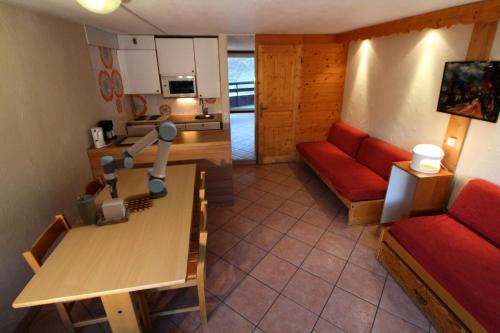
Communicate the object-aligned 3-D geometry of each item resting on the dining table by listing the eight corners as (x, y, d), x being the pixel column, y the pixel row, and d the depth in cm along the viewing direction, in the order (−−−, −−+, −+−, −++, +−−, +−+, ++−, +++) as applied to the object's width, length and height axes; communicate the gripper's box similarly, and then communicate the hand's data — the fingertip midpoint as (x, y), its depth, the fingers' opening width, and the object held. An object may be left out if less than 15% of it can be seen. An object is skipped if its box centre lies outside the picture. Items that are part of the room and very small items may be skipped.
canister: (91, 226, 168) (84, 200, 160) (78, 224, 170) (70, 198, 162) (103, 217, 178) (96, 192, 170) (90, 215, 180) (83, 190, 172)
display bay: (130, 211, 185) (129, 207, 184) (128, 221, 173) (127, 217, 171) (102, 215, 180) (101, 211, 179) (98, 226, 167) (97, 222, 166)
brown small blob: (105, 207, 190) (104, 200, 188) (104, 211, 185) (102, 204, 183) (96, 208, 189) (95, 201, 186) (95, 212, 183) (93, 205, 181)
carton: (125, 210, 186) (123, 197, 182) (124, 217, 178) (121, 203, 174) (107, 213, 183) (104, 199, 179) (105, 220, 174) (101, 206, 170)
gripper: (106, 174, 183) (113, 202, 192) (102, 182, 172) (109, 211, 181) (118, 173, 185) (123, 201, 194) (114, 180, 174) (121, 209, 183)
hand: (117, 206), depth 187 cm, fingers closed
